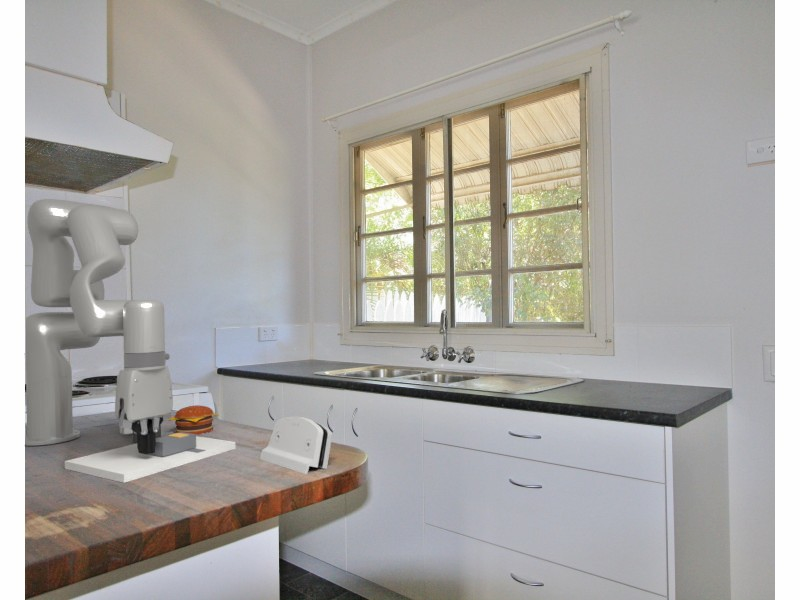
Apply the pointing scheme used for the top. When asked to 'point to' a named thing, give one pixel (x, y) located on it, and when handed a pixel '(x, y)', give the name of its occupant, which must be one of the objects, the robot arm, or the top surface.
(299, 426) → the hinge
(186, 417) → the hamburger
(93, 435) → the top surface
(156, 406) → the robot arm
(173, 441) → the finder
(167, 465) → the white rectangular board
